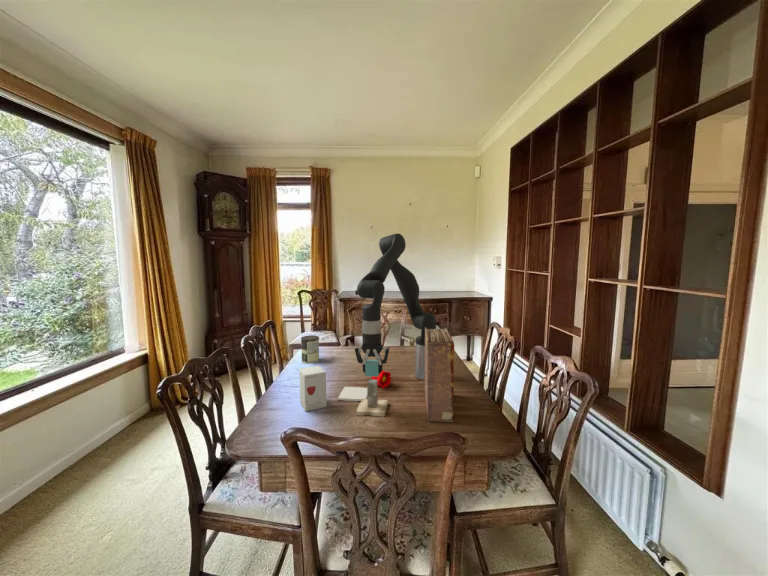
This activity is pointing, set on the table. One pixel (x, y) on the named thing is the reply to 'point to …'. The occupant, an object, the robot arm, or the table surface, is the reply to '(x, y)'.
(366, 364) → the teal cube block
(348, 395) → the pad
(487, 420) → the table surface
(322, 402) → the supplement box
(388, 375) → the flower
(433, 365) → the book
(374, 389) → the post stand
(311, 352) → the coffee can
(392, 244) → the robot arm
